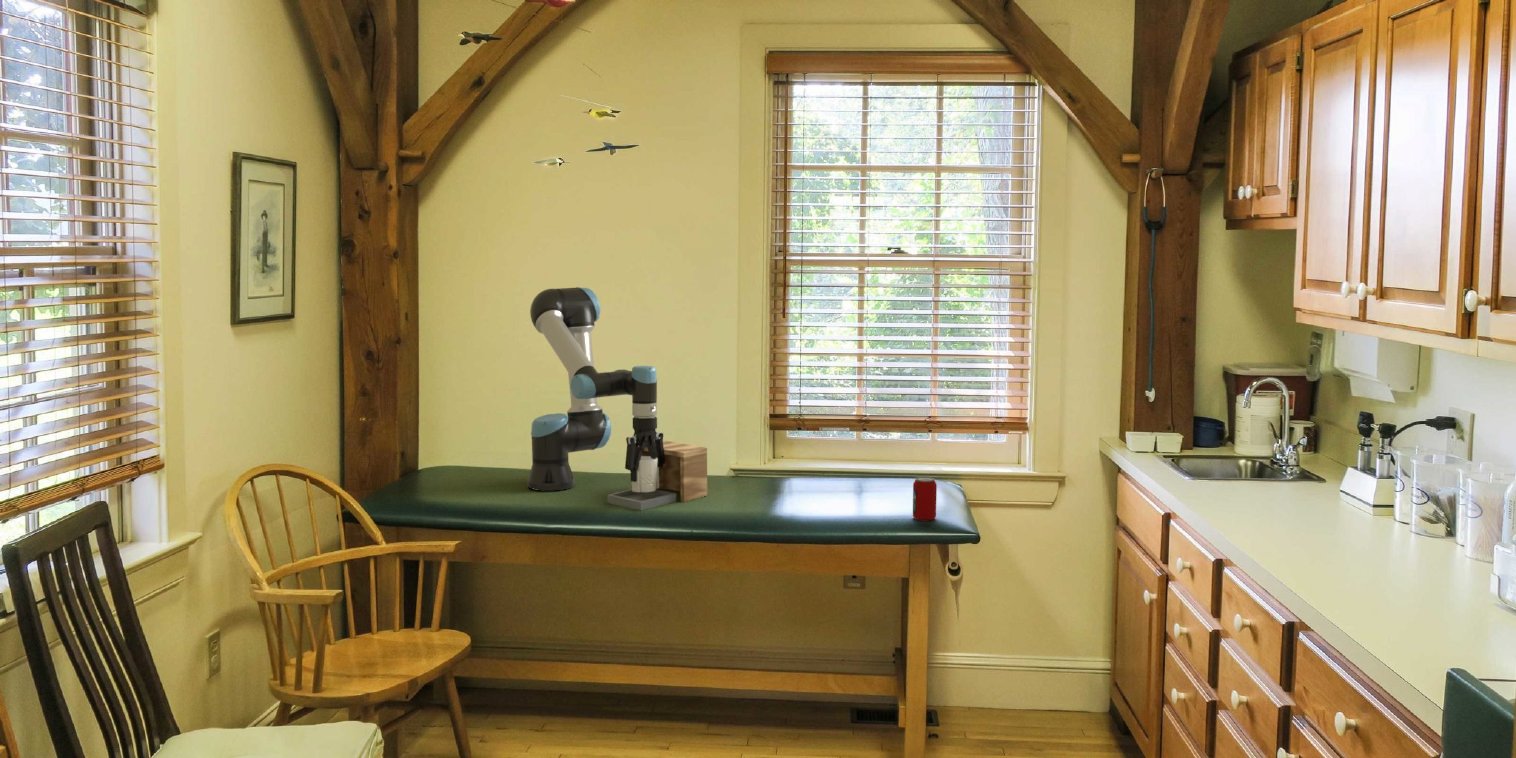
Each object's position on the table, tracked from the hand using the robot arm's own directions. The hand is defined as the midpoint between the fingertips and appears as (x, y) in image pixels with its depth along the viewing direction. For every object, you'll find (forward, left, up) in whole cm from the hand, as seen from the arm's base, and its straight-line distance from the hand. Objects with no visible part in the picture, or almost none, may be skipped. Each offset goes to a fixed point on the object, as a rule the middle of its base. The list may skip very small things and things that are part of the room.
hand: (645, 489), depth 357 cm
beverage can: (+77, +38, -4) cm, 86 cm away
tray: (-1, -1, -4) cm, 4 cm away
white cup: (0, 0, 0) cm, 0 cm away
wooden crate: (-1, +13, -4) cm, 13 cm away
